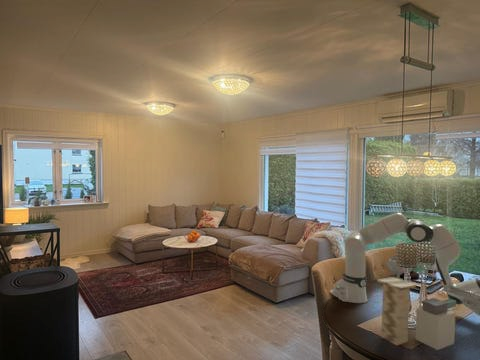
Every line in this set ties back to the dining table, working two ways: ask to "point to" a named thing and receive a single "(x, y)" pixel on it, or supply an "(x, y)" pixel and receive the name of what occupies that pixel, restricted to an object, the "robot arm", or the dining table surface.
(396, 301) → the beige pillar
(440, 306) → the grey boxy piece
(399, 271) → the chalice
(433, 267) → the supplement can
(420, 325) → the grey pedestal
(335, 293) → the robot arm
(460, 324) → the dining table surface
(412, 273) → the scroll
